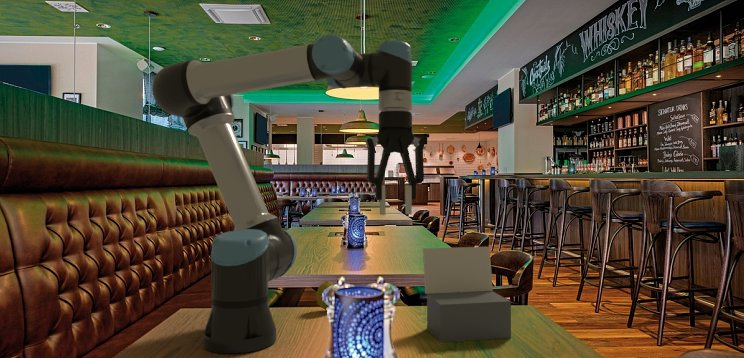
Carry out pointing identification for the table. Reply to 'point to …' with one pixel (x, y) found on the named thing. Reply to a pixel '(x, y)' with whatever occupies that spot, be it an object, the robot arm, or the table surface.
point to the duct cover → (457, 269)
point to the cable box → (468, 316)
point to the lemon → (319, 293)
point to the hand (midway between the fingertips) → (395, 214)
